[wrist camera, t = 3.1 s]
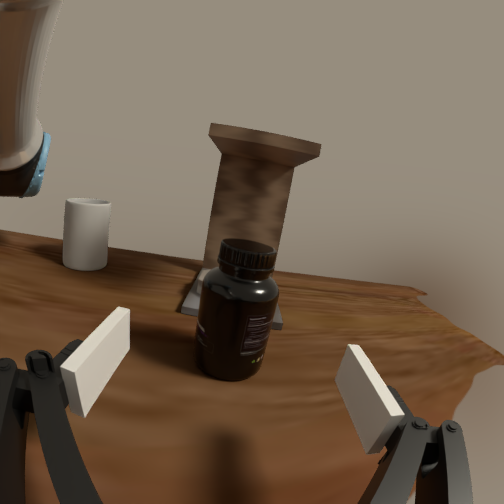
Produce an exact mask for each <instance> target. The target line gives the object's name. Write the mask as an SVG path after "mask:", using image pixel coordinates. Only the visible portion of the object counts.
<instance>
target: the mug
mask: <svg viewBox="0 0 504 504" xmlns="http://www.w3.org/2000/svg"><path fill="white" fill-rule="evenodd" d="M110 213H111V203H110V202H108V201H104V200H98V199H88V198H71V199H67V200H66V204H65V216H64V233H63V264H64V265H65V266H66V267H68V268H70V269H74V270H80V271H93V270H99V269H102V268H104V267H105V266H106V264H107V250H108V235H109V223H110Z"/></svg>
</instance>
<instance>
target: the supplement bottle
mask: <svg viewBox="0 0 504 504" xmlns="http://www.w3.org/2000/svg"><path fill="white" fill-rule="evenodd" d="M276 253H277V251H276V249H274V248H273V247H271V246H268V245H266V244H263V243H259V242H255V241H251V240H245V239H237V238H227V239H223V240H222V241H221V245H220V251H219V255H218V258H217V262H218V263H219V266H218V267H215V268H213V269H211V270H210V271H209V272H208V273H207V274H206V275H205V277H204V279H203V283H202V289H201V296H200V303H199V310H198V318H197V326H196V333H195V341H194V352H193V355H194V360H195V362H196V364H197V365H198V366H199V368H200V369H202V370H203V371H204V372H205V373H207V374H209V375H211V376H213V377H215V378H218V379H222V380H229V381H237V380H243V379H247V378H249V377H251V376H253V375H254V374H256V373H257V372H258V370H259V369H260V367H261V364H262V360H263V357H264V353H265V349H266V346H267V342H268V338H269V334H270V330H271V326H272V322H273V318H274V314H275V310H276V306H277V302H278V297H279V289H278V286H277V284H276V282H275V281H274V280H273V279H272V278H271V277H270V276H269V275H270V274H271V273H273V271H274V268H275V265H274V263H275V258H276Z"/></svg>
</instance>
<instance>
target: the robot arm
mask: <svg viewBox="0 0 504 504" xmlns="http://www.w3.org/2000/svg"><path fill="white" fill-rule="evenodd" d="M63 2H64V0H0V196H3V197H5V196H7V197H19V198H23V197H32V196H35V195H37V194H38V192H39V191H40V188H41V184H42V180H43V175H44V170H45V166H46V161H47V156H48V152H49V147H50V141H51V136H50V135H49V134H48V133H45V132H43V129H42V125H41V123H40V122H39V120H38V119H37V118H36V116H37V108H38V100H39V93H40V88H41V82H42V77H43V72H44V67H45V62H46V58H47V53H48V49H49V46H50V42H51V38H52V35H53V32H54V28H55V25H56V22H57V19H58V16H59V13H60V10H61V7H62V5H63ZM129 349H130V309H126V308H122V307H117V308H116V309H115V310H114V311H113V312H112V313H111V314H110V315H109V316H108V317H107V318H106V319H105V320H104V321H103V322H102V323H101V324H100V325H99V326H98V327H97V328H96V329H95V330H94V331H93V332H92V334H91V335H90V336H89V337H88V338H87V339H86V340H85V341H81V340H79V339H77V340H74V341H72V342H70V343H69V344H68V345H67V346H66V347H65V348H64V349H63V350H62V351H61V352H60V353H58V354H57V355H56V356H55V357H54V358H53V359H52V356H51V354H50V353H48V352H47V351H44V350H34V351H31V352H29V353H28V354H27V355H26V358H25V361H26V365H27V368H28V371H26V370H21V369H17V365H16V363H15V361H13V360H12V359H10V358H1V359H0V504H25V450H26V437H27V427H28V418H29V412H31V413H35V419H36V424H37V429H38V433H39V438H40V442H41V446H42V450H43V454H44V457H45V461H46V464H47V467H48V471H49V474H50V477H51V480H52V483H53V486H54V489H55V491H56V494H57V497H58V499H59V502H60V504H103V503H102V501H101V499H100V497H99V495H98V493H97V491H96V489H95V487H94V485H93V483H92V481H91V478H90V476H89V474H88V472H87V469H86V467H85V465H84V462H83V460H82V457H81V455H80V452H79V450H78V447H77V444H76V442H75V439H74V436H73V433H72V430H71V427H70V424H69V421H68V418H67V415H66V411H65V408H66V407H67V405H68V404H69V407H70V410H71V412H72V413H75V414H77V415H79V416H82V417H84V418H85V417H86V415H87V413H88V412H89V410H90V409H91V407H92V405H93V404H94V402H95V401H96V399H97V397H98V396H99V394H100V393H101V391H102V390H103V388H104V387H105V385H106V384H107V382H108V380H109V379H110V377H111V376H112V374H113V373H114V371H115V370H116V368H117V367H118V365H119V364H120V362H121V361H122V359H123V358H124V356H125V355H126V353H127V352H128V350H129ZM335 382H336V384H337V387H338V389H339V391H340V393H341V396H342V398H343V400H344V403H345V405H346V407H347V410H348V412H349V414H350V417H351V419H352V421H353V424H354V426H355V429H356V431H357V433H358V436H359V438H360V440H361V443H362V445H363V448H364V450H365V453H366V455H367V454H375V453H380V451H381V450H382V449H383V447H384V446H386V448H387V452H386V453H385V454H384V456H383V457H382V458H381V460H380V461H379V462H378V464H379V466H378V468H377V470H376V472H375V474H374V476H373V478H372V480H371V481H370V483H369V485H368V487H367V488H366V490H365V492H364V494H363V495H362V497H361V499H360V500H359V502H358V504H406V502H407V500H408V497H409V495H410V492H411V489H412V487H413V484H414V481H415V478H416V496H415V504H473V495H472V486H471V478H470V470H469V464H468V458H467V452H466V447H465V442H464V437H463V433H462V429H461V426H460V425H459V424H458V423H456V422H455V421H452V420H446V421H444V422H443V423H442V424H441V426H440V427H432V426H429V424H428V422H427V421H425V420H424V419H422V418H420V417H414V416H413V414H412V413H411V411H410V410H409V408H408V407H407V405H406V404H405V403H404V401H403V400H402V398H400V395H399V394H398V392H397V391H396V390H395V389H394V388H392V387H391V386H386V385H385V383H384V382H383V380H382V379H381V377H380V376H379V374H378V373H377V371H376V370H375V368H374V367H373V365H372V364H371V362H370V361H369V359H368V358H367V356H366V355H365V353H364V352H363V350H362V349H361V347H360V346H359V345H350V344H348V346H347V349H346V351H345V354H344V357H343V360H342V362H341V365H340V367H339V370H338V372H337V375H336V377H335ZM416 475H417V477H416Z"/></svg>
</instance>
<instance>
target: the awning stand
mask: <svg viewBox="0 0 504 504" xmlns="http://www.w3.org/2000/svg"><path fill="white" fill-rule="evenodd" d="M209 137H210V138H211V139H212V141H213V142H214V143H215V145H216V146H217V148H218V149H219V150H220V152H221V153H222V156H221V161H220V166H219V171H218V177H217V182H216V187H215V193H214V199H213V205H212V211H211V216H210V222H209V229H208V235H207V241H206V247H205V254H204V261H203V267H202V270H201V271H200V273H199V275H198V277H197V279H196V281H195V282H194V284H193V286H192V288H191V290H190V292H189V294H188V295H187V297H186V299H185V301H184V303H183V305H182V309H181V313H183V314H188V315H193V316H198V310H199V303H200V296H201V289H202V283H203V279H204V277H205V275H206V274H207V273H208V272H209V271H210V270H211V269H213V268H215V267H218V266H219V263H218V262H217V258H218V255H219V251H220V245H221V241H222V240H223V239H227V238H237V239H245V240H251V241H255V242H259V243H263V244H266V245H268V246H271V247H273V248H274V249H276V251H277V252H278V247H279V242H280V237H281V233H282V228H283V223H284V218H285V213H286V208H287V202H288V198H289V193H290V187H291V182H292V177H293V172H294V167H296V166H298V165H300V164H303V163H305V162H307V161H309V160H312V159H314V158H317V157H319V155H320V149H321V144H318V143H314V142H310V141H306V140H301V139H297V138H293V137H288V136H284V135H279V134H274V133H269V132H264V131H259V130H253V129H247V128H242V127H235V126H229V125H222V124H214V123H211V125H210V130H209ZM276 256H277V253H276ZM275 261H276V258H275ZM274 265H275V263H274ZM269 276H270V277H271V278H272V276H273V273H271V274H270V275H269ZM282 325H283V321H282V318H281V314H280V310H279V306H278V302H277V306H276V310H275V314H274V318H273V322H272V326H271V329H277V330H281V329H282Z"/></svg>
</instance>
